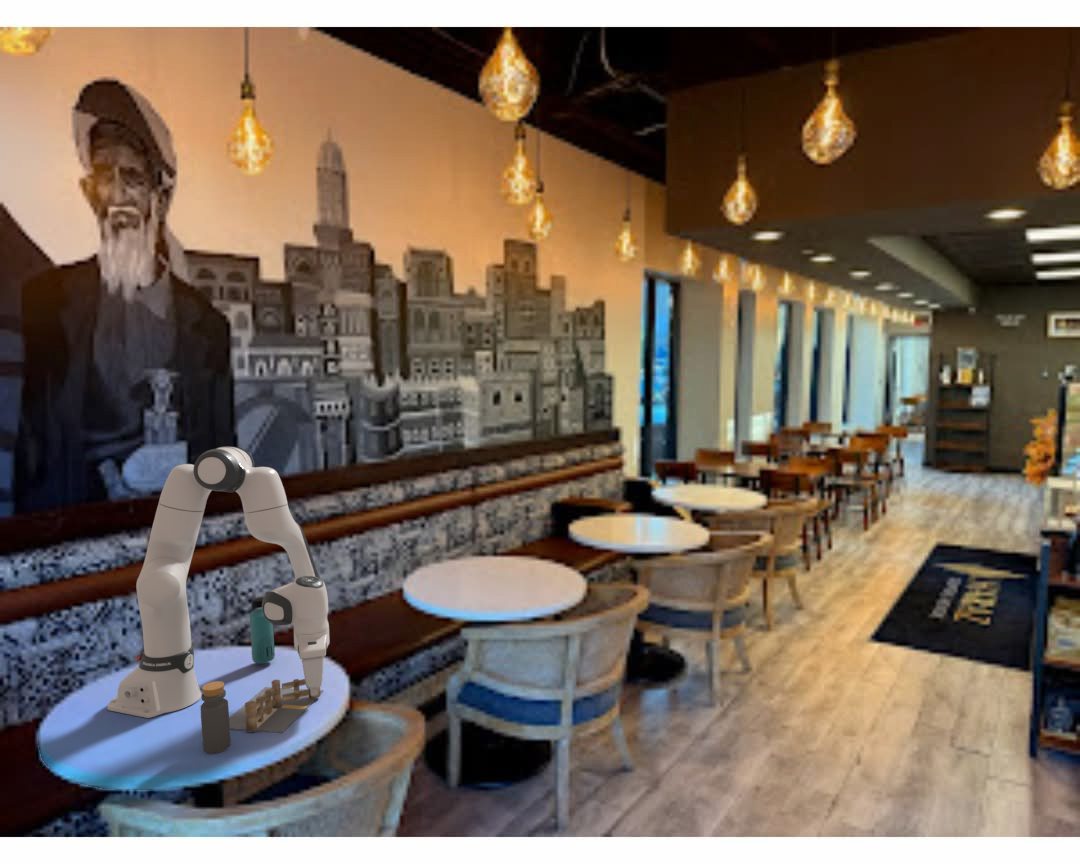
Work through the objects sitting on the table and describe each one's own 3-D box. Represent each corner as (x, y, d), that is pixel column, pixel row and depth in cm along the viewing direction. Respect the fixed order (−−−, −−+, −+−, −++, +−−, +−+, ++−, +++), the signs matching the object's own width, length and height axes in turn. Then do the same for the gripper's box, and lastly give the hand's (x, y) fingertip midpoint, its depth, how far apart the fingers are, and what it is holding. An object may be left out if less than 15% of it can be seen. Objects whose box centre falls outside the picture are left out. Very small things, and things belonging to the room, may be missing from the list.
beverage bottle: (267, 669, 209) (263, 602, 207) (247, 667, 210) (243, 601, 208) (280, 660, 215) (276, 595, 213) (260, 658, 216) (256, 594, 214)
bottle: (229, 751, 164) (225, 689, 163) (201, 756, 163) (197, 692, 161) (232, 739, 170) (228, 678, 168) (205, 743, 168) (201, 682, 167)
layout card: (217, 728, 175) (217, 727, 175) (265, 688, 196) (265, 686, 196) (282, 732, 172) (282, 731, 172) (323, 691, 194) (323, 689, 194)
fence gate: (282, 700, 187) (280, 675, 186) (319, 692, 192) (318, 667, 191) (283, 705, 184) (282, 680, 184) (321, 696, 189) (320, 672, 188)
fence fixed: (244, 731, 172) (242, 705, 172) (274, 704, 186) (273, 679, 186) (253, 732, 172) (252, 705, 171) (283, 704, 186) (282, 679, 185)
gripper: (298, 626, 196) (300, 674, 197) (299, 655, 176) (301, 709, 178) (322, 623, 198) (324, 671, 199) (326, 652, 178) (328, 704, 180)
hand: (313, 689), depth 188 cm, fingers open, 5 cm apart
